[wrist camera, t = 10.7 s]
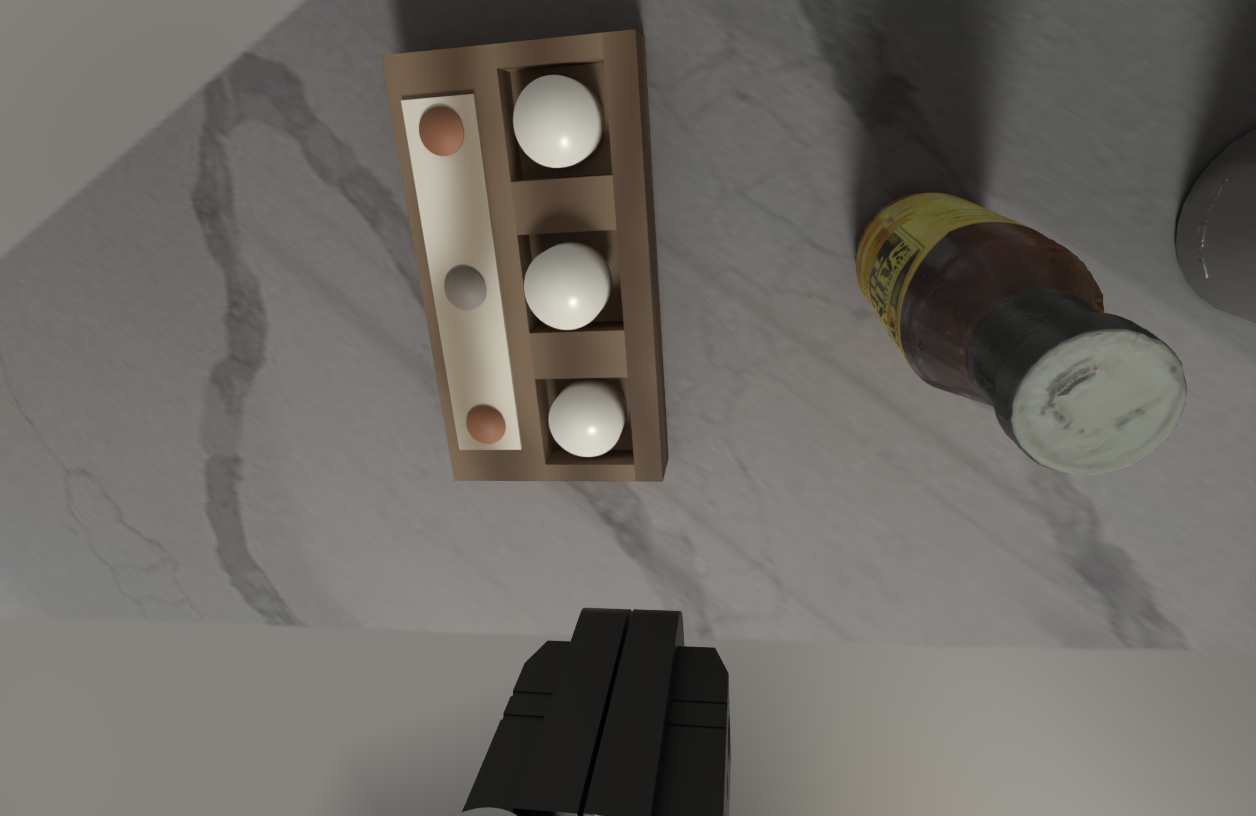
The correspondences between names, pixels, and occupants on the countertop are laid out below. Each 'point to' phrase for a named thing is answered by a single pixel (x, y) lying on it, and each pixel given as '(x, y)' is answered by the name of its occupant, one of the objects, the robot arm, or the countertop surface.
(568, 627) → the countertop surface
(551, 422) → the button
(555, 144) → the button
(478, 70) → the button panel
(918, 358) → the sauce bottle
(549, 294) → the button
